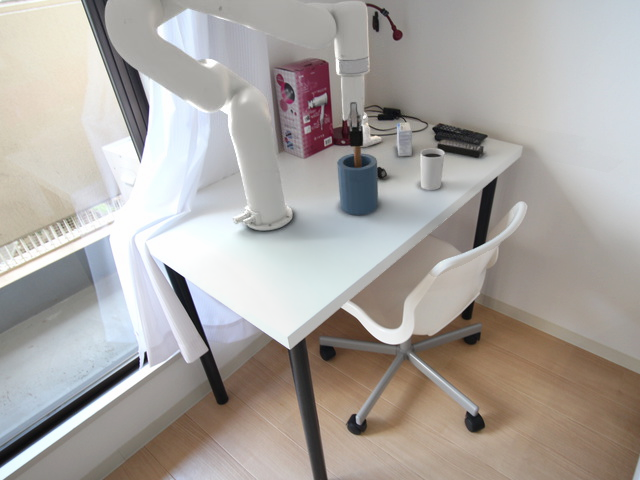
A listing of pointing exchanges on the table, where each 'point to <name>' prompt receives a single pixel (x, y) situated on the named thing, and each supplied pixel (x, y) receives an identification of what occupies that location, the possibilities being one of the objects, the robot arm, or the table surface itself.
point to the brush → (357, 156)
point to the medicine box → (404, 139)
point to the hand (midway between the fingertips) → (356, 143)
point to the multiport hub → (461, 148)
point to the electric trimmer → (381, 173)
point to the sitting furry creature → (368, 133)
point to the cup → (358, 184)
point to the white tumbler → (431, 168)
